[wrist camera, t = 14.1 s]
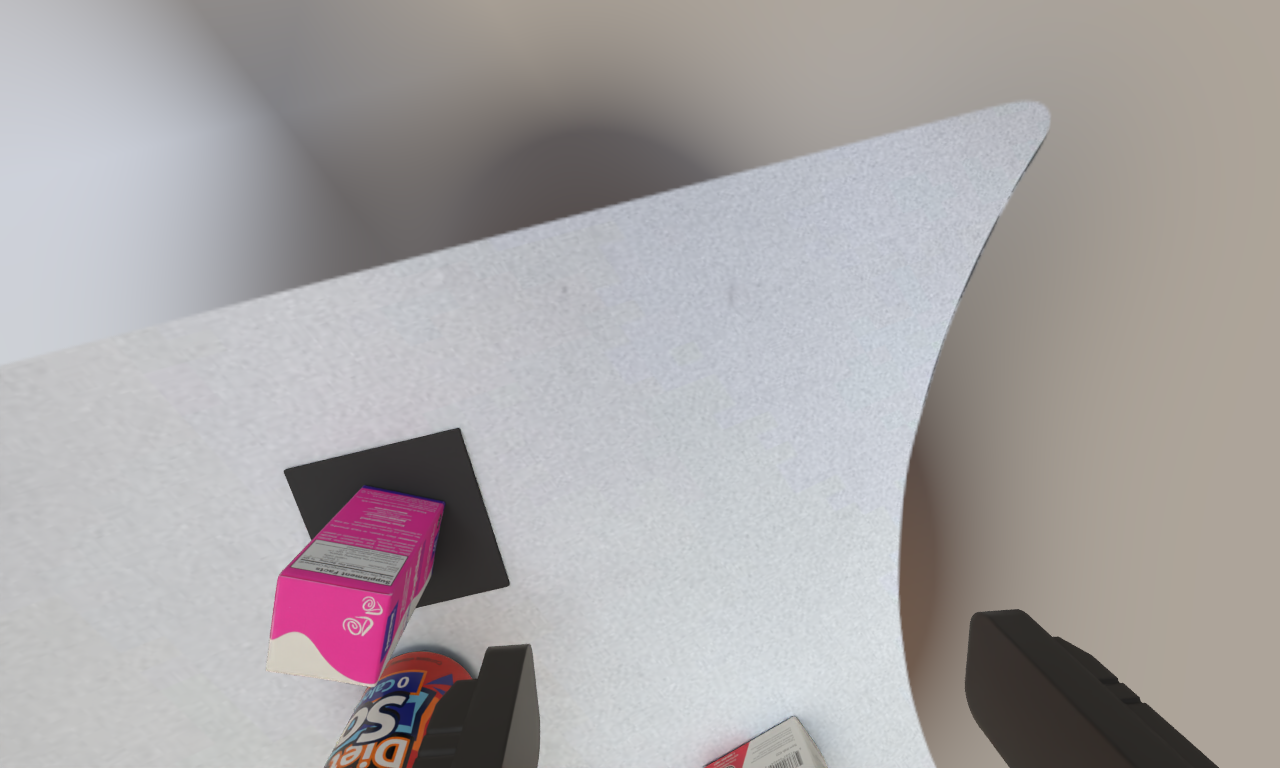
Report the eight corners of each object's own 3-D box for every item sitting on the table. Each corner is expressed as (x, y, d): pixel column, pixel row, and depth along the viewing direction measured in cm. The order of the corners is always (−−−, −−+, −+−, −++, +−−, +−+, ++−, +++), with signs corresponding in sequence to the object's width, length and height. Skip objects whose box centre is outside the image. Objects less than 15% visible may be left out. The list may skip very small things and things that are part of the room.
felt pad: (285, 469, 41) (283, 470, 41) (459, 427, 41) (458, 428, 40) (347, 622, 44) (345, 624, 44) (509, 583, 44) (509, 586, 43)
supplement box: (436, 575, 43) (374, 693, 32) (350, 558, 42) (256, 673, 31) (450, 500, 42) (391, 597, 31) (362, 481, 41) (269, 573, 30)
